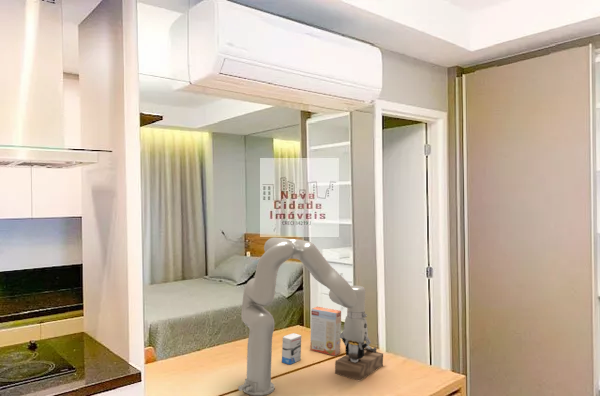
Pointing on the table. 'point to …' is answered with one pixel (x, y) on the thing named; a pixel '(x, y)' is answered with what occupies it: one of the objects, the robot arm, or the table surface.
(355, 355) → the gold-lidded jar
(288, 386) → the table surface
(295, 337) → the ink box
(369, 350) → the keeper bar
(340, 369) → the block
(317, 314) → the cracker box
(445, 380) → the table surface
